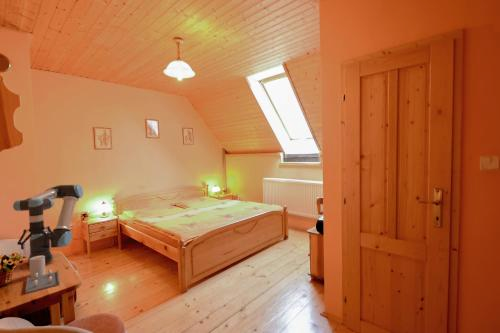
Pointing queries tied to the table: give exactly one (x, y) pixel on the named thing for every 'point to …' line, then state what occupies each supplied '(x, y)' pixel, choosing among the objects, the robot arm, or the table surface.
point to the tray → (42, 282)
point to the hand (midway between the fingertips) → (37, 251)
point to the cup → (37, 266)
